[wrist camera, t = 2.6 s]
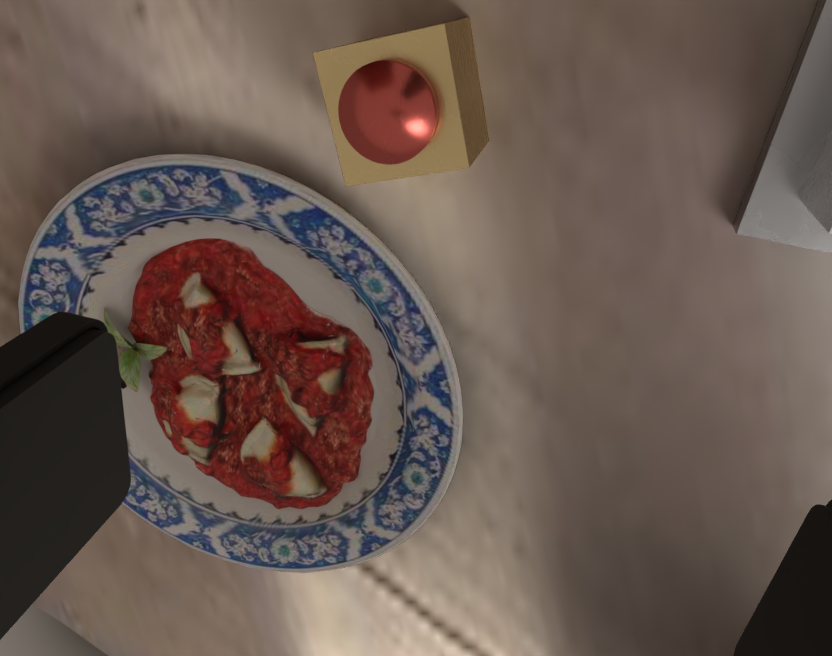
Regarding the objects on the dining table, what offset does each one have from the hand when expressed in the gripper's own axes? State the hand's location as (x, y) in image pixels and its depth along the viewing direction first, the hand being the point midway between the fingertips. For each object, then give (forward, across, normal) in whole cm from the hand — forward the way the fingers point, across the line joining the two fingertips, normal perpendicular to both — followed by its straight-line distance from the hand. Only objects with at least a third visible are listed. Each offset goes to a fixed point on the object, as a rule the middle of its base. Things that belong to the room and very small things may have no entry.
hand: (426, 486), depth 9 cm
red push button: (+23, +6, -1) cm, 24 cm away
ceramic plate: (+23, +14, +16) cm, 32 cm away
